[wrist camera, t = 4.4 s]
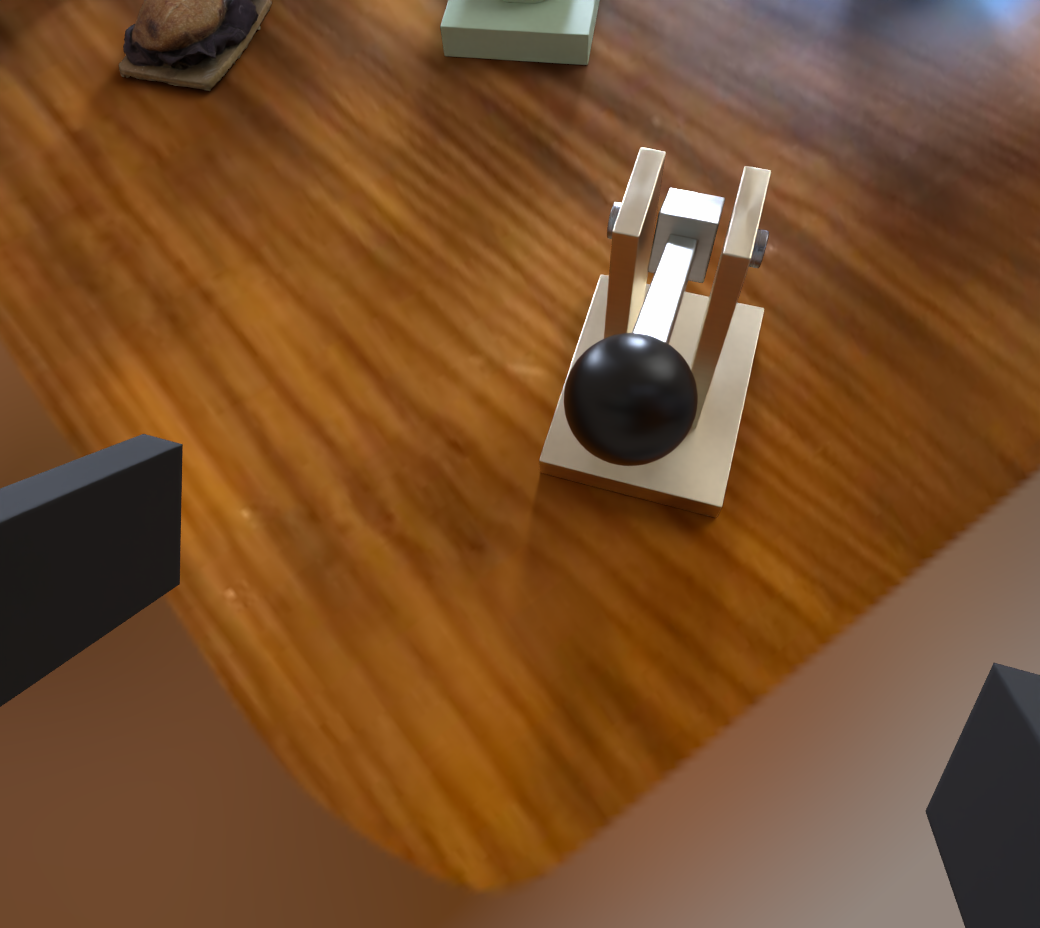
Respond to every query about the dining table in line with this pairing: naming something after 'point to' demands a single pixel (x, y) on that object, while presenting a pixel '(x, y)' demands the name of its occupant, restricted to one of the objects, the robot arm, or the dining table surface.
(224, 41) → the bread roll
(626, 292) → the lever bracket
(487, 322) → the dining table surface
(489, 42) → the button box
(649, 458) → the lever
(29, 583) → the robot arm
